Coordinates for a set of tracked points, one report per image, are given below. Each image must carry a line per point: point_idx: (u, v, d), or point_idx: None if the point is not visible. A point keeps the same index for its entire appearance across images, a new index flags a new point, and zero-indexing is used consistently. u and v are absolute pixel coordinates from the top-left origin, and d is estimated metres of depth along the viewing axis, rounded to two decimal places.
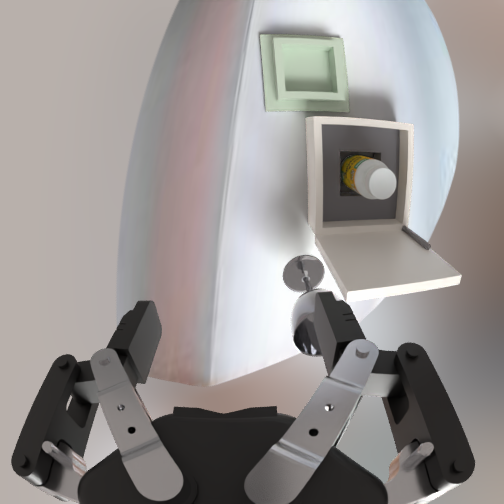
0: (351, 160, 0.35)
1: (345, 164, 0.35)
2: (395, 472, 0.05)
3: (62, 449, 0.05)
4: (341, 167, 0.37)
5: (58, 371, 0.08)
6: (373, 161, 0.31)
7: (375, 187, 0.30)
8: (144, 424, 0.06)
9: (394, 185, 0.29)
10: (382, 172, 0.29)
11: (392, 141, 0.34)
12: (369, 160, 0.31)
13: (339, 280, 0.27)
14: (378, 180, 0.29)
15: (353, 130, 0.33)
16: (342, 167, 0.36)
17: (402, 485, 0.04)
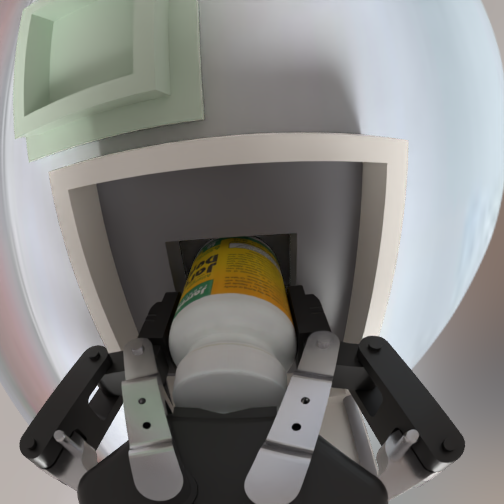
0: (197, 265, 0.13)
1: None
2: (385, 464, 0.05)
3: (75, 439, 0.06)
4: None
5: (87, 362, 0.08)
6: (215, 310, 0.09)
7: None
8: (160, 423, 0.06)
9: (279, 406, 0.08)
10: (217, 382, 0.08)
11: (336, 195, 0.12)
12: (205, 304, 0.10)
13: None
14: (207, 400, 0.08)
15: (197, 177, 0.12)
16: None
17: (396, 475, 0.05)
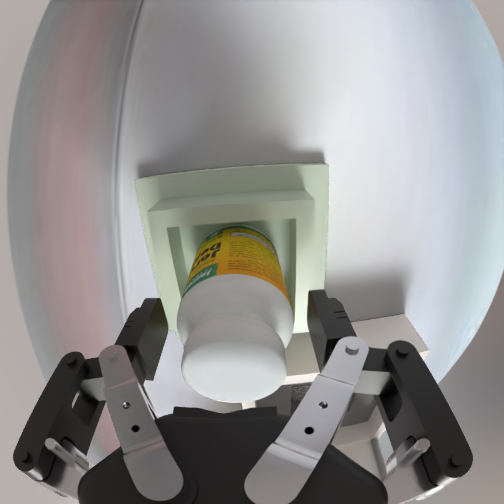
0: (202, 252, 0.15)
1: (194, 260, 0.15)
2: (393, 470, 0.05)
3: (65, 446, 0.05)
4: None
5: (65, 368, 0.08)
6: (220, 288, 0.11)
7: (207, 384, 0.10)
8: (148, 424, 0.06)
9: (278, 376, 0.10)
10: (223, 350, 0.09)
11: None
12: (211, 283, 0.11)
13: None
14: (214, 370, 0.09)
15: None
16: None
17: (401, 482, 0.04)
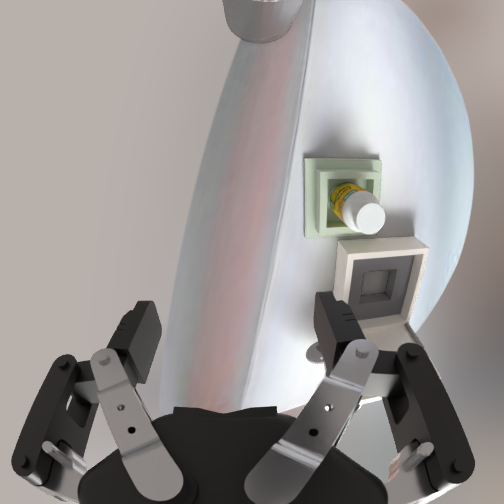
0: (341, 189, 0.35)
1: (335, 193, 0.36)
2: (395, 472, 0.05)
3: (62, 449, 0.05)
4: (330, 195, 0.37)
5: (58, 371, 0.08)
6: (362, 193, 0.31)
7: (362, 222, 0.30)
8: (144, 425, 0.06)
9: (383, 219, 0.30)
10: (370, 207, 0.29)
11: (408, 258, 0.41)
12: (358, 192, 0.31)
13: None
14: (366, 215, 0.30)
15: None
16: (332, 196, 0.37)
17: (402, 485, 0.04)
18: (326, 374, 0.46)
